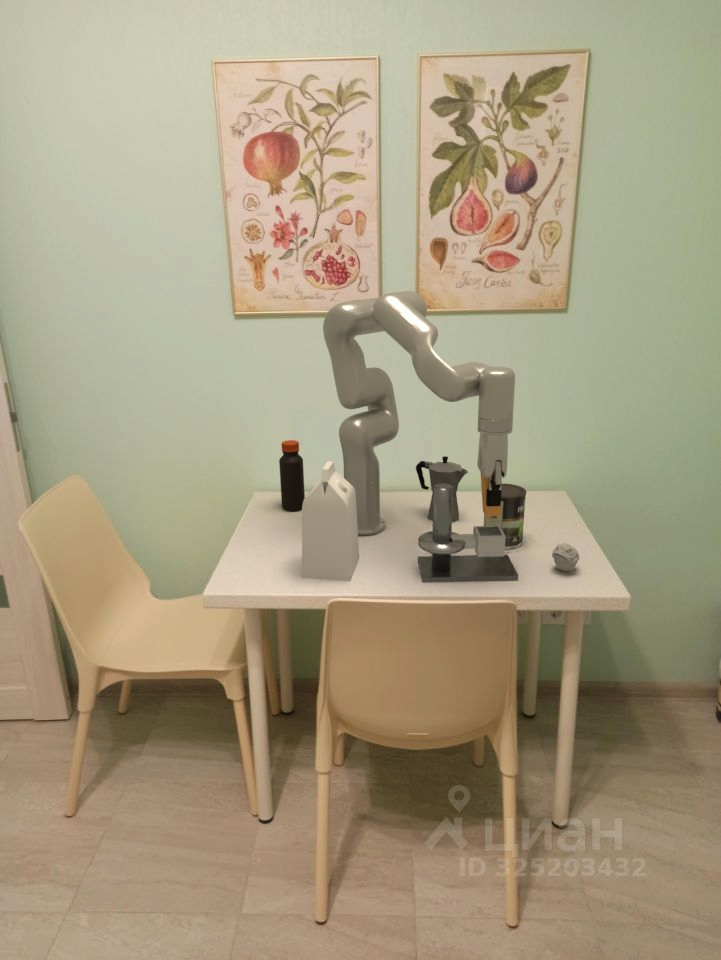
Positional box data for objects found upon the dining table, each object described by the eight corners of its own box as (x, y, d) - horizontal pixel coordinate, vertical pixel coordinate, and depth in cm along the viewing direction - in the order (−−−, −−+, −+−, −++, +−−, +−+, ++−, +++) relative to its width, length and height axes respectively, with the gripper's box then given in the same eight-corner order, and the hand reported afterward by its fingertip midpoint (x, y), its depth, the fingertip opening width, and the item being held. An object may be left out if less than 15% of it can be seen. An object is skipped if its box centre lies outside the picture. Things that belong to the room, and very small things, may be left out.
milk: (314, 555, 170) (309, 456, 161) (359, 558, 168) (357, 458, 160) (301, 577, 159) (296, 472, 150) (350, 581, 157) (347, 474, 148)
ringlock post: (420, 582, 156) (421, 496, 149) (415, 561, 166) (416, 479, 159) (518, 580, 156) (524, 494, 149) (507, 558, 167) (512, 477, 159)
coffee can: (525, 535, 179) (528, 485, 175) (519, 551, 170) (523, 499, 165) (486, 530, 183) (488, 481, 178) (478, 546, 174) (481, 494, 169)
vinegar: (295, 513, 196) (292, 447, 189) (277, 509, 199) (273, 443, 193) (309, 506, 201) (306, 441, 195) (291, 502, 205) (288, 438, 198)
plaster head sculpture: (544, 571, 160) (547, 544, 158) (560, 561, 165) (562, 535, 163) (568, 579, 156) (571, 552, 154) (583, 569, 161) (586, 542, 158)
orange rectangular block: (485, 517, 155) (483, 471, 151) (482, 511, 158) (480, 466, 154) (501, 515, 155) (499, 469, 151) (498, 509, 158) (496, 464, 154)
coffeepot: (471, 516, 192) (474, 455, 186) (458, 527, 185) (460, 464, 179) (422, 506, 200) (423, 447, 194) (408, 517, 192) (408, 456, 186)
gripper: (471, 415, 157) (468, 490, 163) (485, 435, 141) (481, 516, 148) (503, 414, 157) (500, 489, 163) (521, 434, 142) (516, 515, 148)
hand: (491, 501), depth 155 cm, fingers closed on orange rectangular block, 3 cm apart
